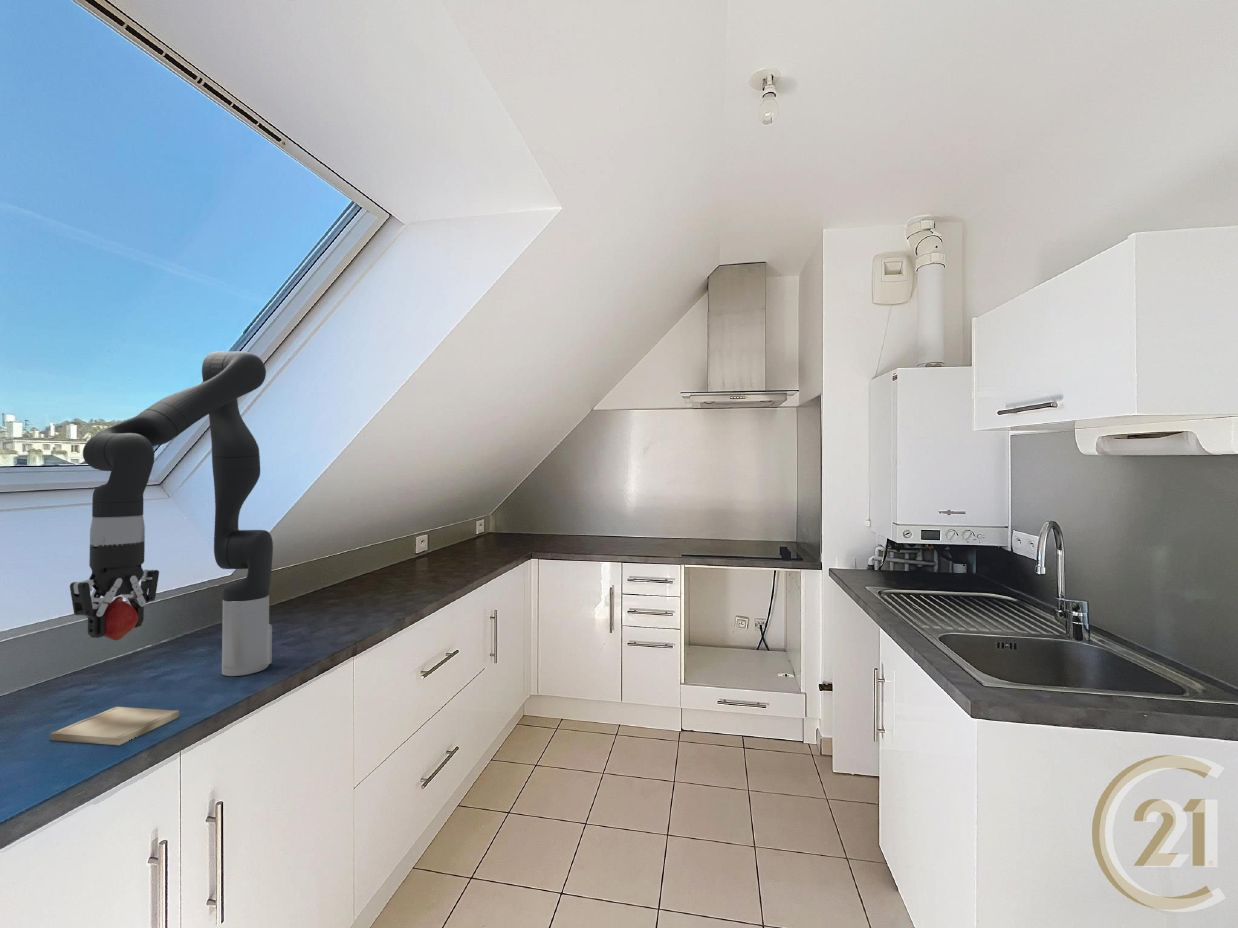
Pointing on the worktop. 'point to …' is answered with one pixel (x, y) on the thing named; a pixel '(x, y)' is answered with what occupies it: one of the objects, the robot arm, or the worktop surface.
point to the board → (115, 725)
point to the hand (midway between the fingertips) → (116, 631)
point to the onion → (119, 619)
